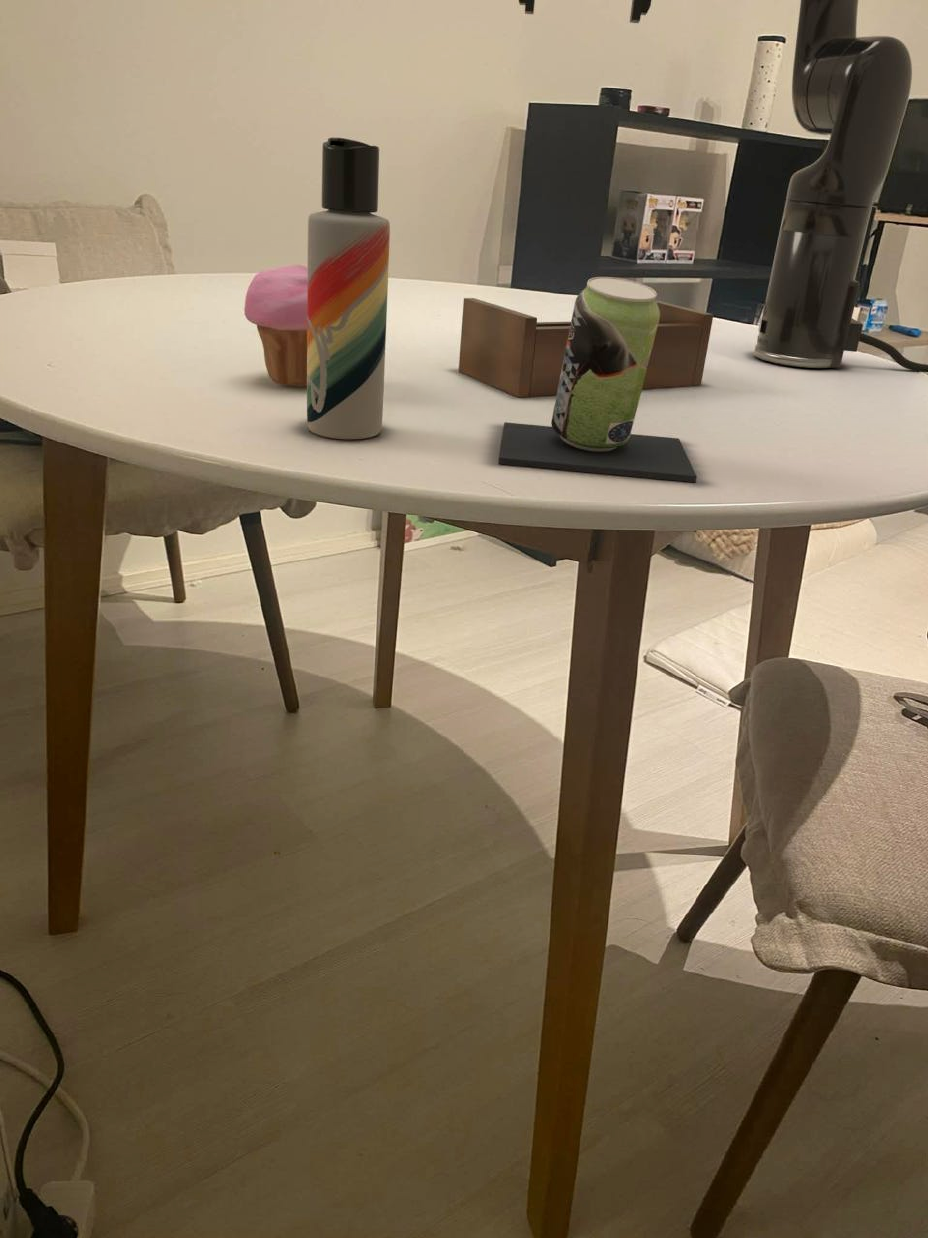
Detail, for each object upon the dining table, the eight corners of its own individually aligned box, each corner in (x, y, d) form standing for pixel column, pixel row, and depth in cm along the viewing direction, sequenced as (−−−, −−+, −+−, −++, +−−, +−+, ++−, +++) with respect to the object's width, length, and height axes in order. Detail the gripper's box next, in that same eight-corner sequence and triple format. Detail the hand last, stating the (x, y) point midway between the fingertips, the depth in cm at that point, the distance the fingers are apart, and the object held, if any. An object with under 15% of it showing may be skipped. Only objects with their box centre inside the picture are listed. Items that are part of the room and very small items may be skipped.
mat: (678, 444, 78) (679, 438, 78) (695, 482, 69) (696, 475, 69) (503, 428, 79) (504, 421, 78) (498, 464, 70) (499, 457, 69)
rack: (458, 371, 97) (463, 297, 94) (633, 362, 108) (642, 296, 105) (518, 397, 89) (526, 317, 86) (701, 385, 100) (713, 314, 97)
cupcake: (349, 395, 84) (352, 274, 80) (246, 393, 83) (243, 268, 78) (339, 372, 92) (342, 260, 88) (245, 370, 90) (242, 255, 86)
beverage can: (593, 430, 78) (615, 272, 73) (657, 456, 73) (685, 287, 68) (530, 437, 75) (548, 272, 70) (592, 464, 70) (617, 288, 64)
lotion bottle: (291, 429, 74) (290, 133, 65) (338, 416, 78) (343, 137, 69) (351, 445, 71) (359, 139, 62) (396, 430, 76) (409, 143, 67)
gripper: (512, -266, 69) (491, 4, 76) (715, -252, 68) (676, 19, 75) (514, -229, 75) (496, 16, 83) (700, -216, 75) (665, 29, 82)
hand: (582, 17), depth 79 cm, fingers open, 8 cm apart
